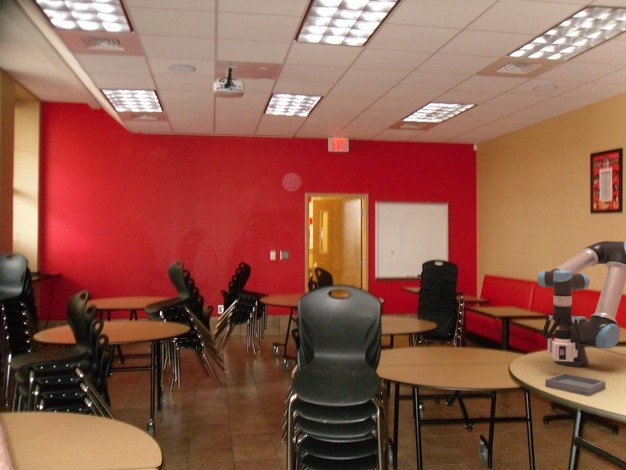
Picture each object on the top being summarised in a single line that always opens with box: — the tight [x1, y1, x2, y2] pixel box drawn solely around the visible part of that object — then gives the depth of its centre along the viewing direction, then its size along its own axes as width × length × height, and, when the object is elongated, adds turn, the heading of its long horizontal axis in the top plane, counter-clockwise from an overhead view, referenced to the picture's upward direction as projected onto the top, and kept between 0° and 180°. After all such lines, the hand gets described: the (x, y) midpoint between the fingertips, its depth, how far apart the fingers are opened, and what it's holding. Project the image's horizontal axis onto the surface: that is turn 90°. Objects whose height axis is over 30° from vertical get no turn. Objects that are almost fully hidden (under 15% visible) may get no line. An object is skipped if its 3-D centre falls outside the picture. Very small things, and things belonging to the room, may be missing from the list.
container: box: [550, 328, 574, 362], centre depth 245 cm, size 8×8×13 cm
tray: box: [544, 372, 606, 397], centre depth 226 cm, size 17×17×3 cm
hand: (562, 354), depth 245 cm, fingers closed on container, 10 cm apart
